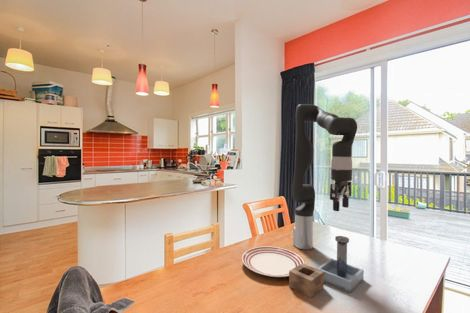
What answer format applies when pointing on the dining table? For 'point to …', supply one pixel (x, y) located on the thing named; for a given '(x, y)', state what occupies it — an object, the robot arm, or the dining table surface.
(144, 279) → the dining table surface
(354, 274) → the tray
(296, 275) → the block
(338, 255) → the pin
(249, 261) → the dinner plate
